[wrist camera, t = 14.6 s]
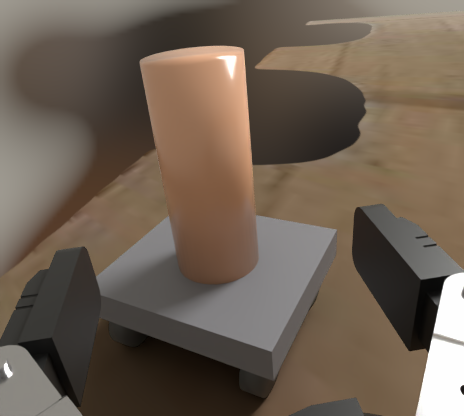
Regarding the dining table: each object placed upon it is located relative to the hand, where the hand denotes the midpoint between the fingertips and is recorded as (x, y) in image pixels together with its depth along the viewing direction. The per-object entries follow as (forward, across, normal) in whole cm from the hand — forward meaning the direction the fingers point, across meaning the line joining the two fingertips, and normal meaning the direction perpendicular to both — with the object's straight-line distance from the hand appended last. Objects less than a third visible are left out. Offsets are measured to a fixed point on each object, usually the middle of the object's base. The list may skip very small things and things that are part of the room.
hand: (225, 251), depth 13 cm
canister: (+11, 0, +8) cm, 14 cm away
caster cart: (+11, 0, +13) cm, 17 cm away
